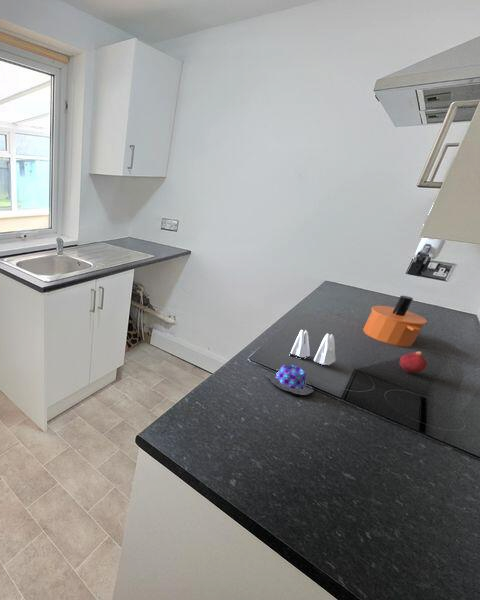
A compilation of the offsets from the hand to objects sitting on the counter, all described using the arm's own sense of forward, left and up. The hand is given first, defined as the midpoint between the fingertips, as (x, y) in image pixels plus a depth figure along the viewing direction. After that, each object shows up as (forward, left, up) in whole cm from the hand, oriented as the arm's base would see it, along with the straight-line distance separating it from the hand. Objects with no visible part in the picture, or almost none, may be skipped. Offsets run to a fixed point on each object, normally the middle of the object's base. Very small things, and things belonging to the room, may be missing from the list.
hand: (416, 272), depth 108 cm
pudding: (+48, +38, -28) cm, 67 cm away
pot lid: (-5, -6, -18) cm, 20 cm away
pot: (-5, -6, -28) cm, 29 cm away
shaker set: (+35, +22, -28) cm, 50 cm away
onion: (+6, +21, -28) cm, 36 cm away
